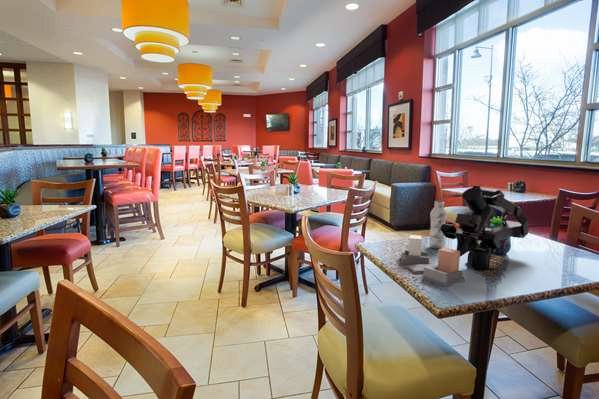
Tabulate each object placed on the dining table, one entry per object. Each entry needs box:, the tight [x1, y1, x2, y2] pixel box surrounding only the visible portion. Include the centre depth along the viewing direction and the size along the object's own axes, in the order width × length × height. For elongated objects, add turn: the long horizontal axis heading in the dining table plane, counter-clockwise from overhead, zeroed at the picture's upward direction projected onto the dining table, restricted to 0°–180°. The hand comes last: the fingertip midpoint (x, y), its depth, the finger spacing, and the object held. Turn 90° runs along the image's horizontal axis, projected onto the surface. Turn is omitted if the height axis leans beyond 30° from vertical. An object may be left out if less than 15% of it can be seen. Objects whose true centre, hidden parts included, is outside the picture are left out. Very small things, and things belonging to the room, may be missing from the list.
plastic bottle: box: [428, 200, 448, 250], centre depth 144 cm, size 6×7×20 cm
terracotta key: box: [436, 247, 461, 275], centre depth 111 cm, size 4×5×8 cm
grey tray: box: [400, 246, 465, 288], centre depth 119 cm, size 13×30×4 cm, turn 9°
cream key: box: [408, 234, 423, 256], centre depth 127 cm, size 4×5×8 cm
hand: (457, 256), depth 114 cm, fingers closed
